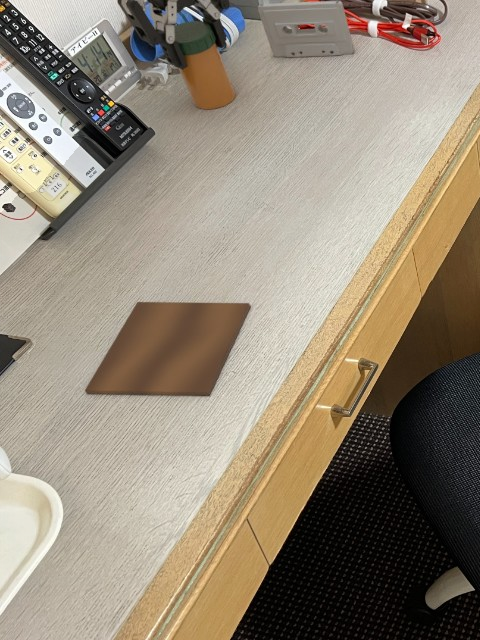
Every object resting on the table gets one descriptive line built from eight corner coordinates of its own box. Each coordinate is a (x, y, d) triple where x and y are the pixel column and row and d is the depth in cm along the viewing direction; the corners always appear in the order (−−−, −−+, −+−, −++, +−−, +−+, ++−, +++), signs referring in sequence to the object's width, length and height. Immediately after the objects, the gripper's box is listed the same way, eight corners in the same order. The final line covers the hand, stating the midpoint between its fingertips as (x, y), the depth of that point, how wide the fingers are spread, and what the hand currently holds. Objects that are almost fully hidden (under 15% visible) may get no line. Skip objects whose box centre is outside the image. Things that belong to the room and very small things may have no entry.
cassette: (355, 49, 123) (342, -2, 117) (353, 55, 122) (340, 4, 116) (275, 52, 123) (258, 2, 117) (272, 58, 122) (255, 8, 116)
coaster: (86, 393, 78) (84, 390, 78) (139, 305, 87) (137, 301, 86) (209, 395, 78) (207, 392, 78) (250, 306, 86) (249, 302, 86)
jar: (189, 110, 112) (160, 45, 105) (199, 89, 116) (172, 25, 109) (230, 108, 113) (204, 42, 106) (239, 86, 116) (214, 22, 109)
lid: (219, 48, 107) (214, 35, 106) (173, 60, 106) (167, 47, 104) (211, 29, 111) (206, 16, 110) (166, 40, 109) (160, 28, 108)
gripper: (113, -48, 91) (175, 88, 104) (216, -92, 99) (261, 39, 112) (72, -61, 94) (137, 73, 107) (175, -103, 102) (224, 26, 115)
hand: (200, 55), depth 109 cm, fingers closed on lid, 6 cm apart
